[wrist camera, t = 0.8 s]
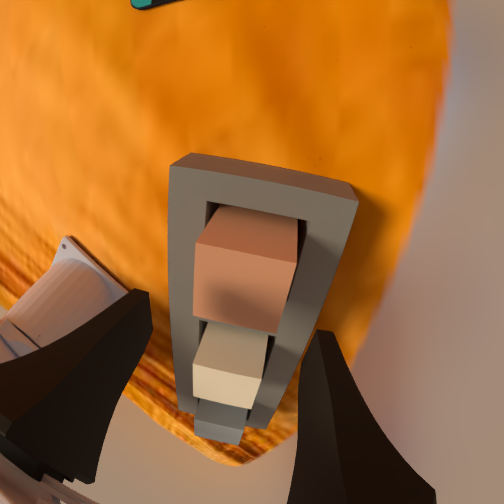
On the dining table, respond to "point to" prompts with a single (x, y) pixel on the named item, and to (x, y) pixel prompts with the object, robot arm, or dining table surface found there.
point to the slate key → (219, 421)
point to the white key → (229, 365)
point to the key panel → (306, 272)
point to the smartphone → (147, 3)
